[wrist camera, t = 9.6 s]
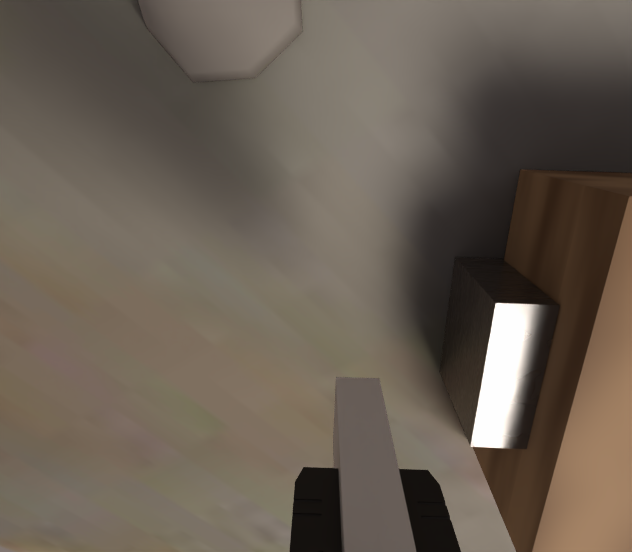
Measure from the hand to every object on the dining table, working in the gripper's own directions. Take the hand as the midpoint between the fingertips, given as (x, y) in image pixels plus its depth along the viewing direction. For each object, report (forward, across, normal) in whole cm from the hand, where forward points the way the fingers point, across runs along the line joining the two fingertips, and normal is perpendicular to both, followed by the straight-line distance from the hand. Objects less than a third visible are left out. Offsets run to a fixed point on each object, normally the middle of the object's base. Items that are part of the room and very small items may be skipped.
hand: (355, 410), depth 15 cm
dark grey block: (+8, +12, 0) cm, 14 cm away
